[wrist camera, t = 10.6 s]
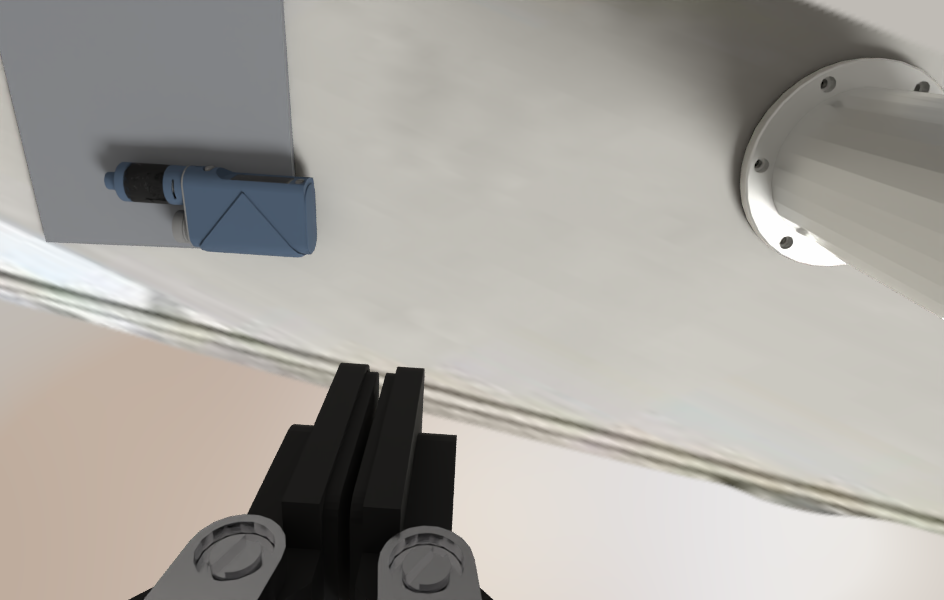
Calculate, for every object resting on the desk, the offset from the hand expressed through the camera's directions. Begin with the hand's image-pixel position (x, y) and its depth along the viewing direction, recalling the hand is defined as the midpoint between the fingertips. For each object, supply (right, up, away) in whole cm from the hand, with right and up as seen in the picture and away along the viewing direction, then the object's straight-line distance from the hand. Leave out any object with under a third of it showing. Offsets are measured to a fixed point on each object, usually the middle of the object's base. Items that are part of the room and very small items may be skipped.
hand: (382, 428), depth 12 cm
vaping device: (-8, +8, +24) cm, 27 cm away
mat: (-17, +14, +24) cm, 32 cm away
